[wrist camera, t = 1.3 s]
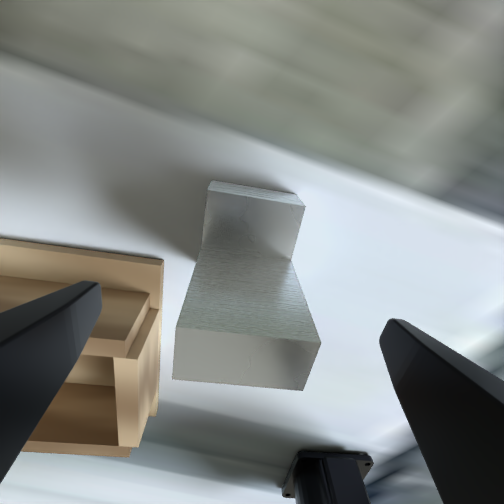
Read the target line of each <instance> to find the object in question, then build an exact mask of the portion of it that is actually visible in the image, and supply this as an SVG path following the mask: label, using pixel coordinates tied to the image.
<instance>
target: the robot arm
mask: <svg viewBox="0 0 504 504" xmlns="http://www.w3.org/2000/svg"><path fill="white" fill-rule="evenodd" d="M101 311H102V295H101V285H100V283H98V282H94V281H86V280H84V281H81V282H78V283H76V284H73V285H70V286H68V287H65V288H63V289H60V290H58V291H55V292H52V293H50V294H47V295H45V296H42V297H40V298H37V299H34V300H32V301H29V302H27V303H24V304H21V305H19V306H16V307H14V308H11V309H9V310H6V311H3V312H1V313H0V483H1V482H2V480H3V479H4V477H5V475H6V474H7V472H8V471H9V469H10V467H11V466H12V464H13V463H14V461H15V460H16V458H17V456H18V455H19V453H20V452H21V450H22V448H23V447H24V445H25V444H26V442H27V440H28V439H29V437H30V436H31V434H32V432H33V431H34V429H35V428H36V426H37V425H38V423H39V421H40V420H41V418H42V417H43V415H44V413H45V412H46V410H47V409H48V407H49V405H50V404H51V402H52V401H53V399H54V397H55V396H56V394H57V393H58V391H59V390H60V388H61V386H62V385H63V383H64V382H65V380H66V378H67V377H68V375H69V374H70V372H71V370H72V369H73V367H74V365H75V364H76V362H77V360H78V358H79V357H80V355H81V353H82V351H83V349H84V347H85V344H86V342H87V340H88V338H89V336H90V334H91V332H92V330H93V328H94V326H95V324H96V322H97V320H98V318H99V316H100V313H101ZM379 343H380V347H381V350H382V353H383V356H384V360H385V363H386V366H387V369H388V372H389V375H390V378H391V381H392V384H393V387H394V390H395V392H396V395H397V397H398V399H399V402H400V404H401V406H402V409H403V411H404V413H405V416H406V418H407V420H408V423H409V425H410V427H411V430H412V432H413V434H414V436H415V439H416V441H417V443H418V446H419V448H420V450H421V453H422V455H423V457H424V460H425V462H426V464H427V467H428V469H429V471H430V473H431V476H432V478H433V480H434V483H435V485H436V487H437V490H438V492H439V494H440V497H441V499H442V501H443V504H504V381H503V380H501V379H500V378H498V377H496V376H495V375H493V374H491V373H490V372H488V371H487V370H485V369H483V368H482V367H480V366H478V365H477V364H475V363H474V362H472V361H470V360H469V359H467V358H465V357H464V356H462V355H460V354H459V353H457V352H456V351H454V350H452V349H451V348H449V347H447V346H446V345H444V344H443V343H441V342H439V341H438V340H436V339H434V338H433V337H431V336H429V335H428V334H426V333H425V332H423V331H421V330H420V329H418V328H416V327H415V326H413V325H412V324H410V323H408V322H407V321H405V320H402V319H394V318H392V319H389V320H388V322H387V324H386V326H385V328H384V330H383V332H382V334H381V336H380V339H379ZM373 464H374V463H373V460H372V458H371V456H368V455H352V454H336V453H320V452H299V453H298V454H297V455H296V457H295V460H294V462H293V464H292V467H291V469H290V471H289V474H288V476H287V478H286V481H285V483H284V485H283V488H282V496H283V497H285V498H295V499H296V504H371V502H370V499H369V496H368V494H367V491H366V488H365V485H364V482H363V479H364V478H365V476H366V475H367V473H368V472H369V470H370V469H371V467H372V466H373Z"/></svg>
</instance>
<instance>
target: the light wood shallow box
mask: <svg viewBox="0 0 504 504" xmlns="http://www.w3.org/2000/svg"><path fill="white" fill-rule="evenodd" d="M163 272H164V260H158V259H151V258H143V257H136V256H129V255H121V254H114V253H106V252H99V251H92V250H84V249H77V248H70V247H62V246H55V245H47V244H40V243H33V242H25V241H18V240H10V239H3V238H0V313H1V312H3V311H6V310H9V309H11V308H14V307H16V306H19V305H21V304H24V303H27V302H29V301H32V300H34V299H37V298H40V297H42V296H45V295H47V294H50V293H52V292H55V291H58V290H60V289H63V288H65V287H68V286H70V285H73V284H76V283H78V282H81V281H84V280H86V281H94V282H98V283H100V285H101V295H102V311H101V313H100V316H99V318H98V320H97V322H96V324H95V326H94V328H93V330H92V332H91V334H90V336H89V338H88V340H87V342H86V344H85V347H84V349H83V351H82V353H81V355H80V357H79V358H78V360H77V362H76V364H75V365H74V367H73V369H72V370H71V372H70V374H69V375H68V377H67V378H66V380H65V382H64V383H63V385H62V386H61V388H60V390H59V391H58V393H57V394H56V396H55V397H54V399H53V401H52V402H51V404H50V405H49V407H48V409H47V410H46V412H45V413H44V415H43V417H42V418H41V420H40V421H39V423H38V425H37V426H36V428H35V429H34V431H33V432H32V434H31V436H30V437H29V439H28V440H27V442H26V444H25V445H24V447H23V448H22V450H21V451H23V452H41V453H59V454H77V455H95V456H113V457H129V456H130V453H131V450H132V447H139V444H140V441H141V437H142V434H143V431H144V428H145V425H146V422H147V418H148V416H154V417H156V413H157V410H158V395H159V370H160V346H161V321H162V297H163Z"/></svg>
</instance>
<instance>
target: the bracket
mask: <svg viewBox="0 0 504 504" xmlns="http://www.w3.org/2000/svg"><path fill="white" fill-rule="evenodd" d="M305 207H306V206H305V205H304V204H303V202H302V201H301V200H300V198H299V197H298V196H297V194H291V193H285V192H280V191H274V190H268V189H262V188H256V187H250V186H245V185H239V184H233V183H227V182H221V181H215V180H212V181H211V183H210V185H209V187H208V189H207V197H206V207H205V216H204V225H203V235H202V244H201V249H200V253H199V256H198V259H197V262H196V265H195V268H194V271H193V275H192V278H191V281H190V284H189V287H188V290H187V293H186V297H185V300H184V303H183V306H182V309H181V312H180V315H179V319H178V322H177V325H176V331H175V345H174V359H173V374H172V379H174V380H185V381H197V382H208V383H219V384H231V385H242V386H253V387H265V388H276V389H288V390H299V391H303V389H304V387H305V384H306V382H307V379H308V376H309V374H310V371H311V368H312V366H313V363H314V361H315V358H316V355H317V353H318V350H319V348H320V345H321V341H320V338H319V335H318V333H317V330H316V327H315V324H314V322H313V319H312V316H311V313H310V311H309V308H308V305H307V302H306V300H305V297H304V294H303V291H302V289H301V286H300V283H299V280H298V278H297V275H296V272H295V269H294V267H293V264H292V261H291V258H292V255H293V251H294V247H295V244H296V240H297V236H298V233H299V229H300V225H301V221H302V218H303V214H304V210H305Z"/></svg>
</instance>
